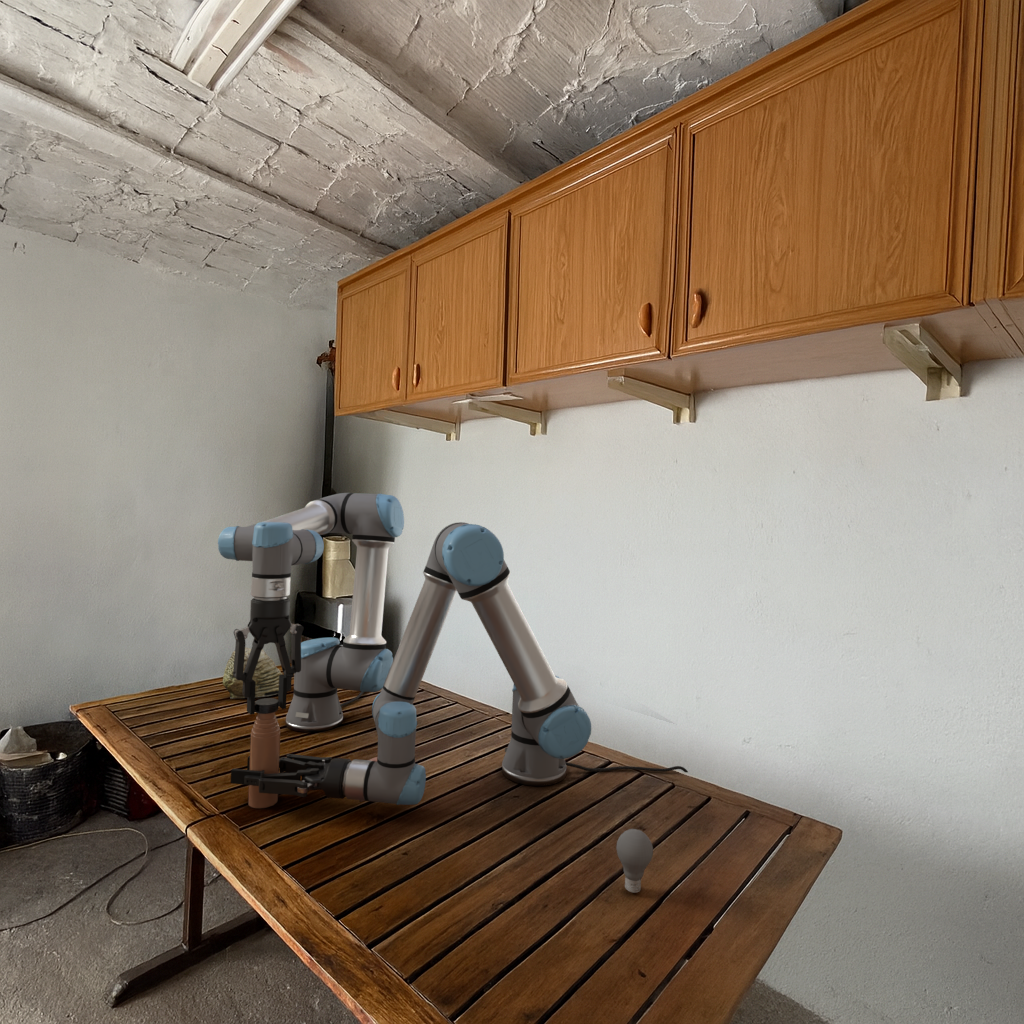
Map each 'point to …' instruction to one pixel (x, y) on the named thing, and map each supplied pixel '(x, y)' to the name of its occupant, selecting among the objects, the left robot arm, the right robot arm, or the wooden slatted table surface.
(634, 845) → the light bulb
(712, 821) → the wooden slatted table surface
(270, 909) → the wooden slatted table surface
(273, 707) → the cap
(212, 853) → the wooden slatted table surface
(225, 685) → the fossil
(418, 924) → the wooden slatted table surface
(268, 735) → the bottle
